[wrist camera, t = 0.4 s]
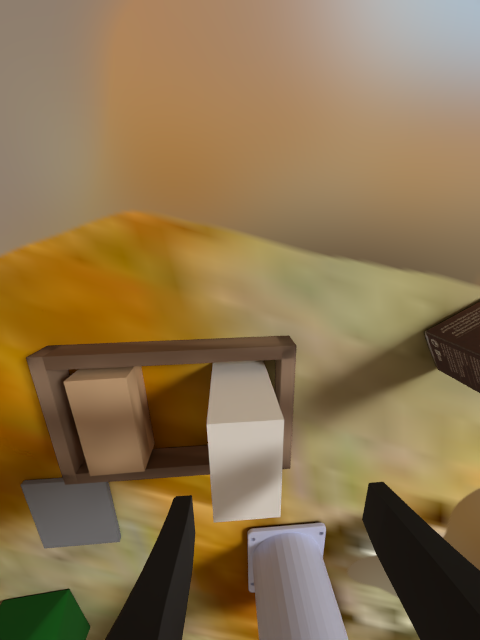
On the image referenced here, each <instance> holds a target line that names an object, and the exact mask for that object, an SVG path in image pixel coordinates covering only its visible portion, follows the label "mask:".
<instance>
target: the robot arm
mask: <svg viewBox="0 0 480 640" xmlns="http://www.w3.org/2000/svg"><path fill="white" fill-rule="evenodd" d="M362 520H363V522H364V525H365V527H366V530H367V533H368V535H369V538H370V540H371V542H372V545H373V547H374V549H375V552H376V554H377V556H378V558H379V560H380V562H381V564H382V566H383V568H384V570H385V572H386V574H387V576H388V578H389V580H390V581H391V583H392V585H393V587H394V589H395V591H396V593H397V595H398V597H399V599H400V601H401V603H402V605H403V607H404V609H405V611H406V613H407V615H408V617H409V619H410V620H411V622H412V624H413V626H414V628H415V630H416V632H417V634H418V636H419V638H420V640H480V571H479V570H478V569H477V568H476V567H475V566H474V565H472V564H471V563H470V562H469V561H468V560H467V559H466V558H464V557H463V556H462V555H461V554H460V553H459V552H458V551H457V550H455V549H454V548H453V547H452V546H451V545H450V544H449V543H448V542H447V541H445V540H444V539H443V538H442V537H441V536H440V535H439V534H438V533H437V532H436V531H435V530H433V529H432V528H431V527H430V526H429V525H428V524H427V523H426V522H425V521H424V520H423V519H422V518H421V517H420V516H419V515H417V514H416V513H415V512H414V511H413V510H412V509H411V508H410V507H409V506H408V505H407V504H406V503H405V502H404V501H403V500H402V499H401V498H400V497H399V496H397V495H396V494H395V493H394V492H393V491H392V490H391V489H390V488H389V487H388V486H387V485H386V484H385V483H384V482H376V483H369V485H368V491H367V496H366V502H365V507H364V513H363V518H362ZM325 533H326V527H325V525H324V523H310V524H299V525H287V526H276V527H264V528H252V529H250V530H249V531H248V588H249V591H250V592H255V598H256V609H257V620H258V631H259V640H348V636H347V633H346V630H345V627H344V624H343V621H342V618H341V614H340V611H339V608H338V605H337V602H336V599H335V596H334V592H333V589H332V586H331V583H330V580H329V577H328V574H327V570H326V567H325V564H324V561H323V550H324V542H325ZM194 542H195V525H194V514H193V503H192V495H190V496H176V497H175V498H174V499H173V502H172V505H171V507H170V510H169V512H168V515H167V518H166V520H165V522H164V525H163V527H162V529H161V532H160V534H159V536H158V538H157V541H156V543H155V545H154V547H153V549H152V551H151V553H150V555H149V558H148V560H147V562H146V564H145V566H144V568H143V570H142V572H141V574H140V576H139V578H138V580H137V582H136V584H135V586H134V587H133V589H132V591H131V593H130V595H129V597H128V599H127V601H126V603H125V605H124V607H123V608H122V610H121V612H120V614H119V616H118V618H117V619H116V621H115V623H114V625H113V627H112V628H111V630H110V632H109V634H108V635H107V637H106V639H105V640H182V635H183V629H184V622H185V615H186V609H187V602H188V595H189V589H190V582H191V575H192V568H193V556H194Z"/></svg>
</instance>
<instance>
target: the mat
mask: <svg viewBox="0 0 480 640" xmlns="http://www.w3.org/2000/svg"><path fill="white" fill-rule="evenodd" d="M21 487H22V490H23V493H24V495H25V498H26V501H27V503H28V506H29V509H30V511H31V514H32V517H33V519H34V522H35V525H36V527H37V530H38V533H39V535H40V538H41V541H42V543H43V546H44V548H55V547H66V546H78V545H89V544H101V543H112V542H120V539H121V534H120V530H119V526H118V521H117V517H116V513H115V509H114V504H113V500H112V496H111V492H110V487H109V483H108V482H98V483H84V484H70V485H65V483H64V480H63V478H53V479H39V480H25V481H23V483H22V484H21Z"/></svg>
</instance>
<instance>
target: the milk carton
mask: <svg viewBox="0 0 480 640" xmlns="http://www.w3.org/2000/svg"><path fill="white" fill-rule="evenodd" d="M89 630H90V625H89V624H88V622H87V620H86V618H85V616H84V615H83V613H82V611H81V609H80V608H79V606H78V604H77V602H76V600H75V599H74V597H73V595H72V593H71V591H70V590H69V589H68V590H62V591H56V592H50V593H44V594H39V595H33V596H27V597H21V598H15V599H9V600H4V601H3V602H2V603H1V605H0V640H86V637H87V635H88V632H89Z"/></svg>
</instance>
